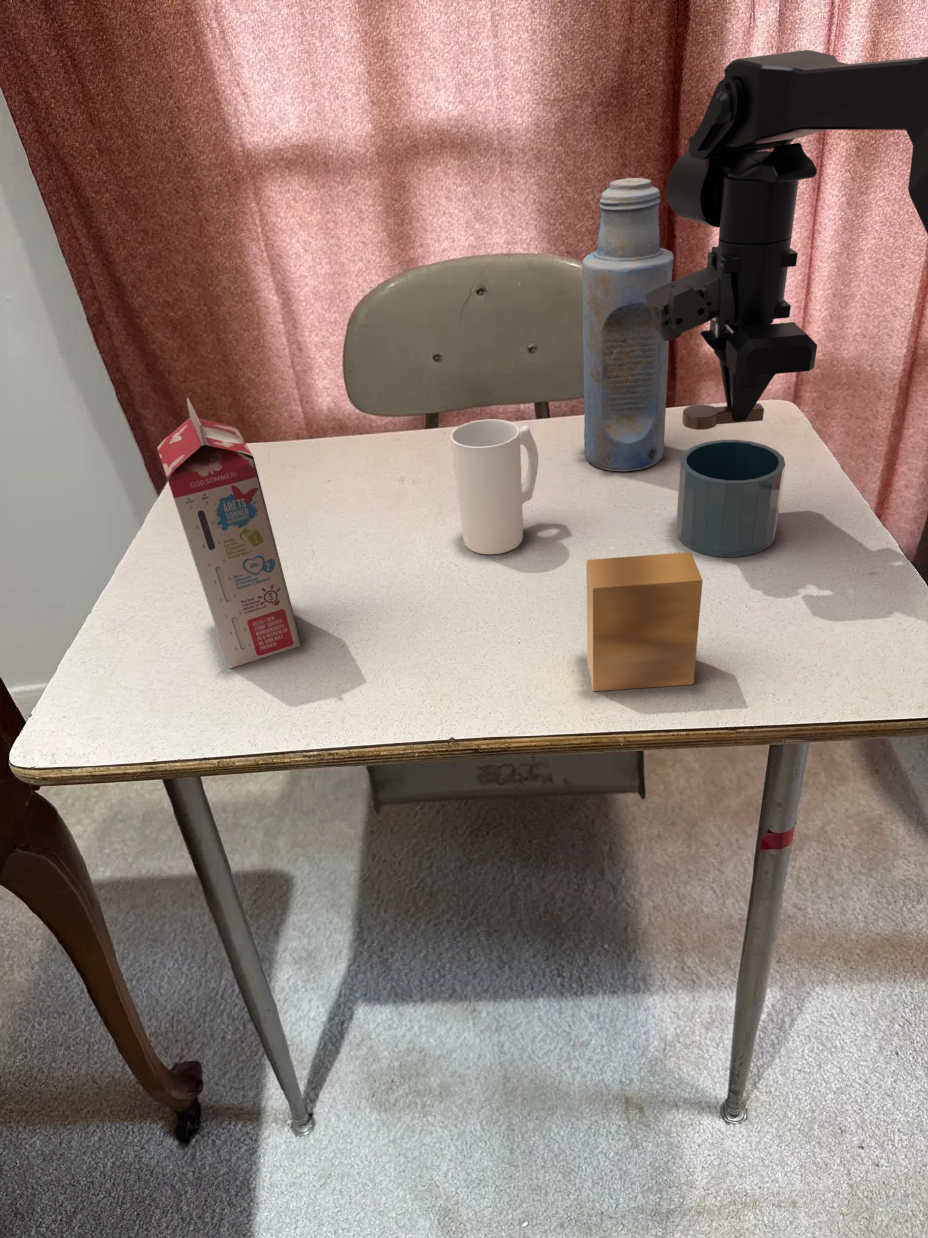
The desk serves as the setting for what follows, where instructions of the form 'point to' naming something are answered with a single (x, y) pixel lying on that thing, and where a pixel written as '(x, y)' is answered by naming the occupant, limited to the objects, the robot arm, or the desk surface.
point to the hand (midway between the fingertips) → (736, 417)
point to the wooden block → (642, 621)
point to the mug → (492, 482)
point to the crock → (729, 497)
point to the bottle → (625, 332)
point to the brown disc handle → (715, 416)
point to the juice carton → (230, 538)
